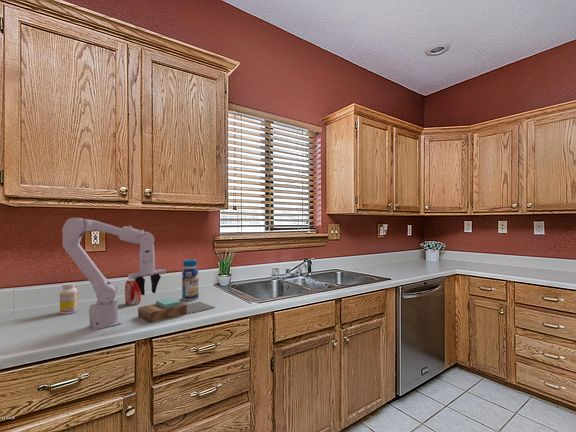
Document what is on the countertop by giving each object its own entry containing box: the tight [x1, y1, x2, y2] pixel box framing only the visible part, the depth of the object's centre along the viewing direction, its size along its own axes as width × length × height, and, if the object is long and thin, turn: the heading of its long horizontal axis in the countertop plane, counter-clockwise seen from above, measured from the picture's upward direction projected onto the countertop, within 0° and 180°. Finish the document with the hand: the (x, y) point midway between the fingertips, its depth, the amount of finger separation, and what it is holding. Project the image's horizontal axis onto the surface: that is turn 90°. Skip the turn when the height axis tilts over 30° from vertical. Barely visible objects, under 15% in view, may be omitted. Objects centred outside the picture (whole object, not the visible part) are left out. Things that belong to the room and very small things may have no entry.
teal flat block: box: [155, 297, 182, 308], centre depth 136 cm, size 7×9×2 cm
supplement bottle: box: [59, 282, 79, 315], centre depth 140 cm, size 7×7×13 cm
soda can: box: [124, 278, 142, 306], centre depth 153 cm, size 7×7×12 cm
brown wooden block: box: [137, 302, 188, 324], centre depth 134 cm, size 16×12×4 cm
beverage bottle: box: [181, 258, 199, 301], centre depth 162 cm, size 8×8×20 cm
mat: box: [186, 301, 216, 315], centre depth 145 cm, size 13×14×1 cm
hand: (148, 293), depth 129 cm, fingers open, 4 cm apart
